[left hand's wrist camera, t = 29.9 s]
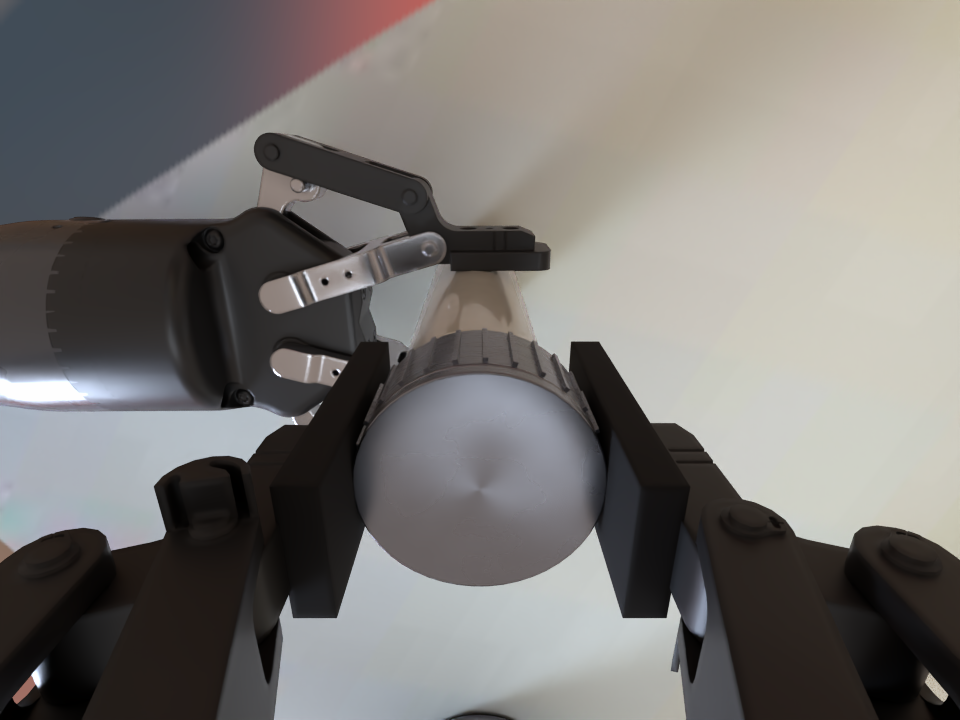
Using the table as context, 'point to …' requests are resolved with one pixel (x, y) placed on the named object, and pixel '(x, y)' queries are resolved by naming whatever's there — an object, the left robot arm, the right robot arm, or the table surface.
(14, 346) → the right robot arm
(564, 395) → the lid
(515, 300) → the jar
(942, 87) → the table surface
